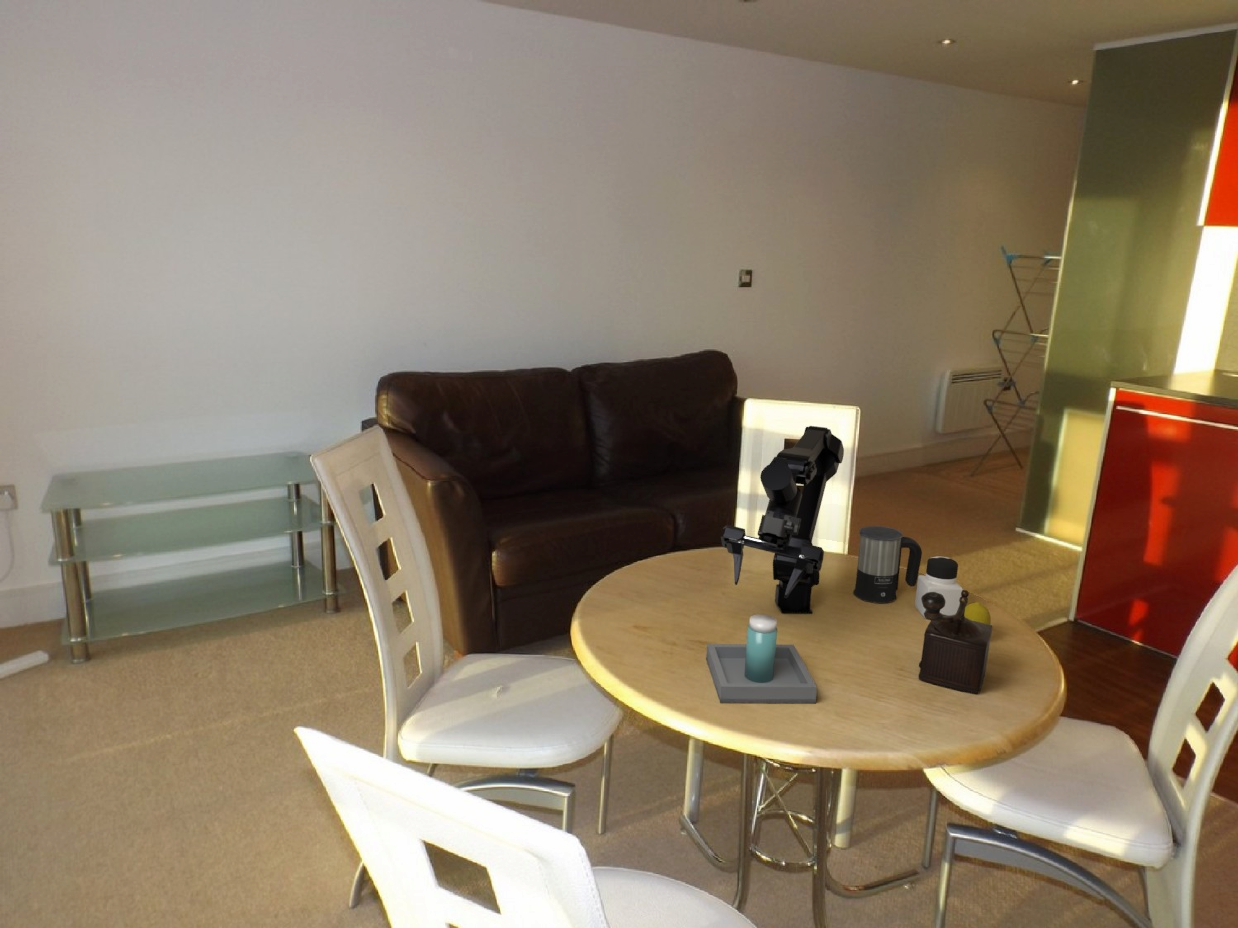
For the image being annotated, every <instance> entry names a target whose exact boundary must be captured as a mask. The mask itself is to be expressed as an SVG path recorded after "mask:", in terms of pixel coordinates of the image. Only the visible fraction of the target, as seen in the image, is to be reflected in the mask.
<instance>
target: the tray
mask: <svg viewBox="0 0 1238 928" xmlns="http://www.w3.org/2000/svg"><path fill="white" fill-rule="evenodd" d="M746 646H747V643H746V644H744V643H742V644H741V643H739V644H737V643H733V644H732V643H707V644H706V657H705V659H706V663H707V666H708V668H709V674H710V676H711V678H712V681H713V682H712V683H713V684H714V688H715V691H716V694H717V697H718V701H719V703H720V704H801V705H803V704H811V705H812V704H813V705H814V704H816V703H817V692H818V686H817V685H816V682H815V681H814V679H813V677H812V675H811V674H810V672H809V670H808V668H807V666H806V664H805V662H804V661H803V659H802V657H801V655H800V653H799V651H798V649H797V648H796V645H794V644H776V651H775V663H774V674H773V679H772V680H771V681H770V682H766V683H758V682H753V681H750V680H748V679H747V678H746V677H745V676H744V672H745V659H746Z"/></svg>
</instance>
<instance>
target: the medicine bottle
mask: <svg viewBox="0 0 1238 928" xmlns="http://www.w3.org/2000/svg"><path fill="white" fill-rule="evenodd" d="M925 569H926V572H925V575H924V574H920V575H919V574H918V578H917V583H916V593H915V599H914V606H915V608H916V609H917V610H918V612H919V613H920V614H921V616H922V617H923V619H925V620H927V619H926V618H925V616H924V612H925V611H926V609H925V608H924V607H923V604H922V600H921V598H922V596H923V595H924V594H926V593H928V592H936V593H939V594H942V595H943V596H944V599H945V601H946V602H945V607H943V608H942V609H941V610H940V613H942V614H944V615H948V616H949V615H955V614H956V613H957V610H958V608H959V605H960V602H959V599H960V597H962V596H961V592H962V591H963V590H964V589H963V587H962V586H961V585H960V584H959V582H957V578H958V569H959V563H958V562H957V561H956V560H954V559H952V558H951V557H947V556H933V557H932V556H931V557H929V558H928V559H927V562H926V568H925Z"/></svg>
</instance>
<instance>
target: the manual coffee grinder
mask: <svg viewBox="0 0 1238 928" xmlns="http://www.w3.org/2000/svg"><path fill="white" fill-rule="evenodd" d="M969 595H970V593H969V591H968V590H967V589H963V591H962V592H961V596H962V597H960V599H959V602H960V605H959V608H958V610H957V613H956V614H955V615H949V616H948V615H944V614H942V613H940V610H941V609H942V608H943V607H945V602H946V601H945V599H944V596H943V595H942V594H939V593H936V592H928V593H926V594H924V595H923V596H922V598H921V600H922V604H923V607H924V608H925V609H926V611H925V612H924V616H925V618H926V619H925V618H924V619H925V620H929V623H928V624H927V626H926V628H925V632H924V636H923V644H922V645H923V646H922V651H921V659H920V661H919V663H918V668H919V673H918V680H920V681H922V682H925V683H928V684H930V685H934V686H936V687H937V686H938V687H942V688H945V689H949V690H954V691H957V692H961V693H965V694H970V695H976V696H977V695H979V694H980V693H981V690H982V688H983V684H984V681H985V676H986V672H987V664H988V657H989V652H990V646H991V645H990V644H991V638H992V631H993V628H994V627H993V625H992V624H990V625H988V624H984V623H980V622H976V621H971V620H969V619H968V618H965V616H964V613H965V607H966V606H967V605H968V604H969Z"/></svg>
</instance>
